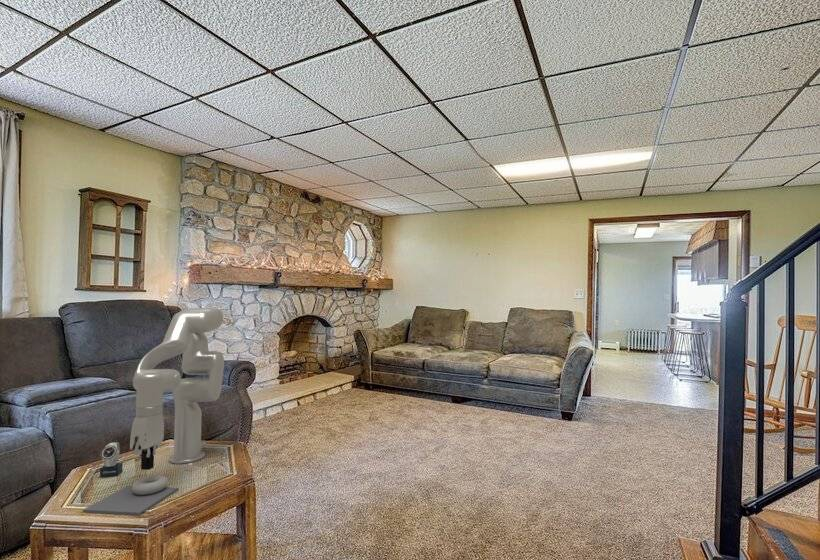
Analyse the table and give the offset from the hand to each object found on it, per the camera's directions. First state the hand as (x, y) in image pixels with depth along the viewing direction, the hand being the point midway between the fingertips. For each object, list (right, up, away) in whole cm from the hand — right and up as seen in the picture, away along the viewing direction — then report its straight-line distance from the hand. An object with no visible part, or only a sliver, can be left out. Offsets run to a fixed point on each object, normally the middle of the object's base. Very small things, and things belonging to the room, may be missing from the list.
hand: (147, 468), depth 136 cm
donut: (+1, -6, +5) cm, 8 cm away
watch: (-22, -9, +15) cm, 28 cm away
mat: (-1, -7, -6) cm, 9 cm away
